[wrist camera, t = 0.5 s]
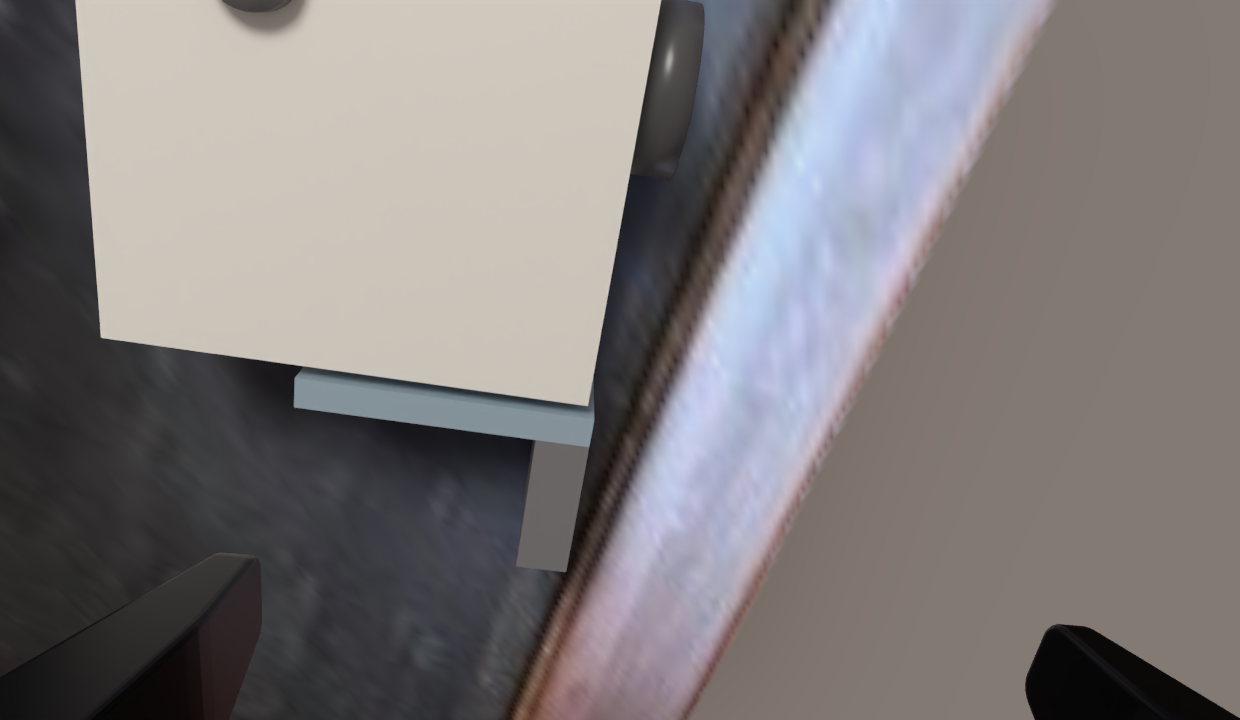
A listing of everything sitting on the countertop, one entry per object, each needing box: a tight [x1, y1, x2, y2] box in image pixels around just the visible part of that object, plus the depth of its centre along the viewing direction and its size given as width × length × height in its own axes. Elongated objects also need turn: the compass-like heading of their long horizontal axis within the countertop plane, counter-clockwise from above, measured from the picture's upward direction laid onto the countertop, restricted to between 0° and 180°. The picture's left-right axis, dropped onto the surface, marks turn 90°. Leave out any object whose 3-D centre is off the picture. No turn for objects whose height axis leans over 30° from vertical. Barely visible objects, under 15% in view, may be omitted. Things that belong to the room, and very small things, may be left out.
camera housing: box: [76, 0, 704, 406], centre depth 17 cm, size 10×11×5 cm
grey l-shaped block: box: [294, 366, 594, 572], centre depth 20 cm, size 4×6×4 cm, turn 80°
